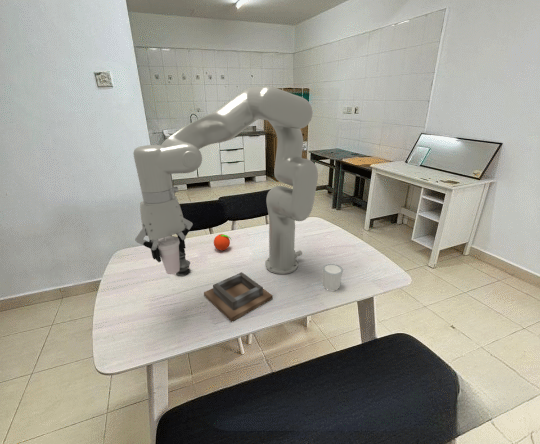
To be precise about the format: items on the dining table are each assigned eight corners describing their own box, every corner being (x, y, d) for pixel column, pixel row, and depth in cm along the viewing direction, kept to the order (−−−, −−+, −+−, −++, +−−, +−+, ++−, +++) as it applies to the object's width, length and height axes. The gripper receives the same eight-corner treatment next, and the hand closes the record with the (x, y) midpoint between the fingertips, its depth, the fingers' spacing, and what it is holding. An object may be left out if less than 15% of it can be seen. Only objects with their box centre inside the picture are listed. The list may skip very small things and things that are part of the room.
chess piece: (186, 277, 105) (182, 248, 100) (172, 275, 106) (167, 246, 101) (193, 268, 110) (190, 240, 106) (179, 267, 111) (175, 239, 107)
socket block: (243, 277, 105) (243, 267, 103) (272, 299, 94) (272, 287, 92) (204, 295, 95) (203, 284, 93) (231, 322, 84) (230, 309, 82)
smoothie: (164, 265, 86) (155, 222, 80) (186, 263, 86) (179, 221, 80) (158, 277, 80) (148, 232, 74) (182, 276, 80) (174, 231, 75)
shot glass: (329, 294, 96) (331, 276, 93) (317, 283, 101) (318, 266, 99) (345, 288, 99) (347, 271, 96) (332, 278, 104) (334, 261, 101)
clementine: (234, 246, 127) (233, 231, 124) (230, 253, 121) (229, 238, 118) (216, 245, 128) (215, 230, 125) (212, 252, 121) (210, 237, 119)
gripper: (183, 185, 81) (192, 241, 89) (118, 199, 71) (134, 261, 79) (196, 191, 76) (204, 250, 84) (127, 207, 66) (143, 273, 73)
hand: (170, 255), depth 81 cm, fingers closed on smoothie, 6 cm apart
